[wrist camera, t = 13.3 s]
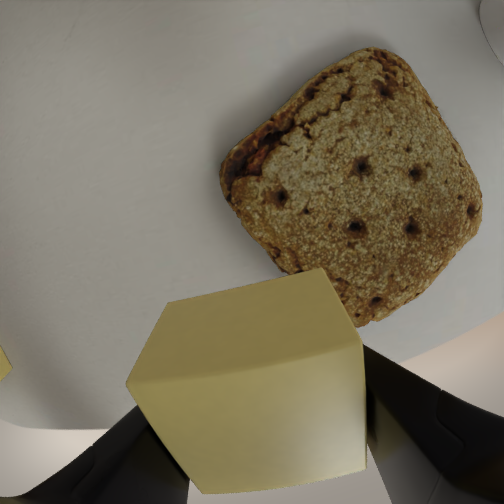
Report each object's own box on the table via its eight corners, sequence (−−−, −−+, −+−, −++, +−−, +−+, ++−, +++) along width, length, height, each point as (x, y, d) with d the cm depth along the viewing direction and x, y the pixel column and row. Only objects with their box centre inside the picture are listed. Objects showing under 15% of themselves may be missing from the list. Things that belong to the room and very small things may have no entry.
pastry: (448, 314, 20) (468, 333, 17) (216, 309, 20) (210, 334, 17) (479, 86, 15) (505, 81, 12) (231, 32, 15) (228, 11, 12)
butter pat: (341, 385, 10) (367, 470, 6) (214, 409, 10) (202, 495, 6) (322, 265, 8) (362, 340, 5) (167, 301, 9) (122, 383, 5)
